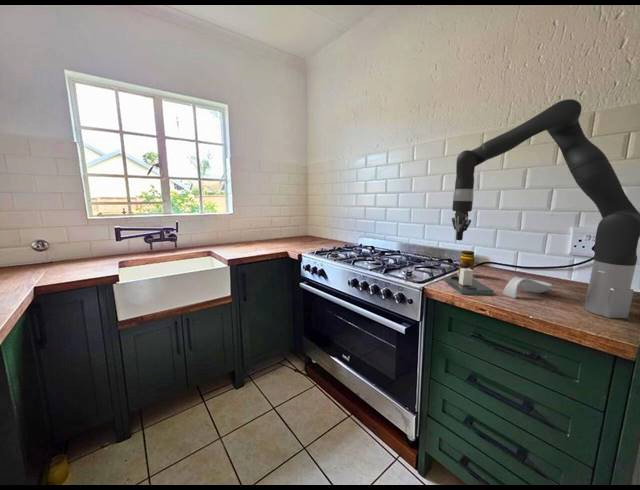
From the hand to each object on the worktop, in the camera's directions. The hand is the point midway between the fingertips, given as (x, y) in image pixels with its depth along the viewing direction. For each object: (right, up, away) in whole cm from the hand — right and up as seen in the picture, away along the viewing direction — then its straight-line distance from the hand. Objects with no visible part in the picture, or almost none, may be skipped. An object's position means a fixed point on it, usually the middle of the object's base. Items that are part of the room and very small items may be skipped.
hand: (459, 240), depth 118 cm
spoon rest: (+22, -22, -10) cm, 32 cm away
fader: (-1, -18, -7) cm, 20 cm away
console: (+1, -20, -5) cm, 21 cm away
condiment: (+11, -17, +14) cm, 25 cm away
